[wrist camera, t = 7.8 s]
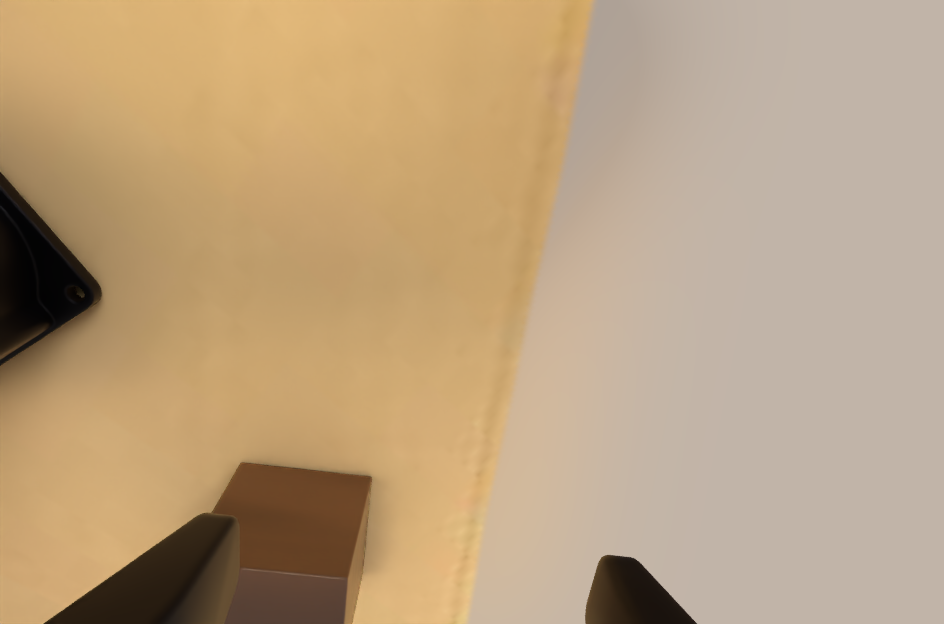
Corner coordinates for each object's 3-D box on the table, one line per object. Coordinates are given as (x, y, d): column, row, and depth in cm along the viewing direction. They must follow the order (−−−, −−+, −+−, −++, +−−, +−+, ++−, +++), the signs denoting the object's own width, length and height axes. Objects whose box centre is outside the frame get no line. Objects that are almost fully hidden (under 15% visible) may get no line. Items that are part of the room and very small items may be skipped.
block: (362, 574, 22) (338, 690, 18) (240, 562, 21) (187, 677, 17) (372, 476, 20) (348, 578, 16) (240, 461, 20) (181, 561, 16)
